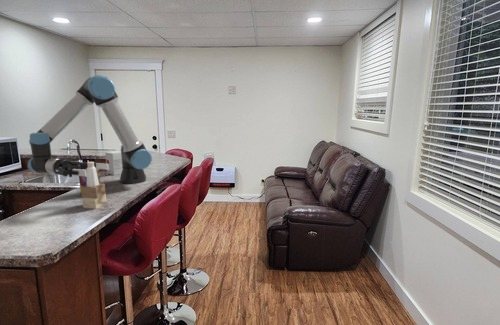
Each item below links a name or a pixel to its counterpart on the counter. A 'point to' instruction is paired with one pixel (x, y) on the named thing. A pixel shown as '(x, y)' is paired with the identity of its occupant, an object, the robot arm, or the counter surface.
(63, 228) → the counter surface
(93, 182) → the salt shaker
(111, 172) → the supplement box
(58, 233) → the counter surface
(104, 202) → the tower bottom
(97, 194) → the tower top
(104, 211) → the counter surface
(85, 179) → the candy box
